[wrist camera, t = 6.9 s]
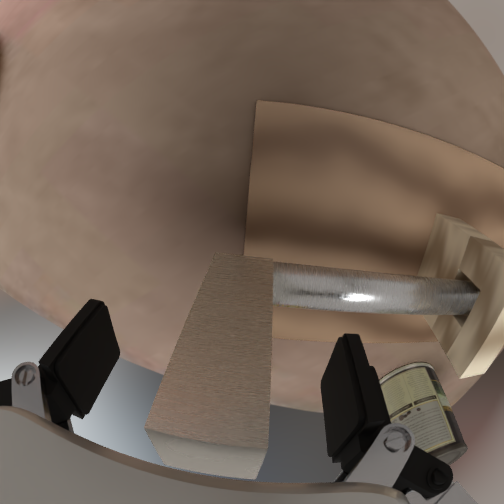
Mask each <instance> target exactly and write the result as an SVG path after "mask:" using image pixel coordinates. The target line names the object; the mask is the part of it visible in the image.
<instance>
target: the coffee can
mask: <svg viewBox="0 0 504 504" xmlns="http://www.w3.org/2000/svg"><path fill="white" fill-rule="evenodd" d="M379 382H380V385H381V389H382V392H383V395H384V399H385V402H386V406H387V409H388V413H389V417H390V420H391V424H392V423H400V424H403V425H406V426H407V427H408V428H410V430H411V431H412V432H413V434H414V437H415V446H417V447H419V448H420V449H422V450H424V451H426V452H427V453H429V454H431V455H432V456H434V457H436V458H438V459H440V460H441V461H443V462H445V463H446V464H448V465H451V464H452V463H454V462H455V461H456V460H457V459H459V458H460V457H461V456H462V455H463V454H464V453H465V452H466V451H467V449H468V448H467V445H466V444H465V442H464V440H463V437H462V434H461V432H460V429H459V427H458V424H457V421H456V419H455V416H454V414H453V412H452V409H451V407H450V404H449V402H448V400H447V397H446V395H445V393H444V391H443V389H442V386H441V384H440V382H439V380H438V378H437V376H436V374H435V372H434V368H433V367H432V366H431V365H430V364H428V363H424V362H418V363H411V364H408V365H405V366H402V367H400V368H398V369H395V370H394V371H392V372H391V373H389V374H387V375H386V376H384V377H383V378H382V379H381V380H379Z"/></svg>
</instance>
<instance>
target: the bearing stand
mask: <svg viewBox="0 0 504 504" xmlns="http://www.w3.org/2000/svg"><path fill="white" fill-rule="evenodd" d="M243 256H253V257H262V258H271V259H273V261H274V262H283V263H293V264H302V265H312V266H321V267H331V268H341V269H351V270H361V271H371V272H381V273H391V274H401V275H411V276H422V277H432V278H443V279H454V280H465V281H472V282H473V283H474V284H475V285H476V286H477V287H478V288H479V289H480V290H481V291H480V293H479V295H478V297H477V300H476V302H475V304H474V306H473V308H472V310H471V312H470V314H469V315H406V314H377V313H357V312H340V311H326V310H312V309H300V308H289V307H278V306H273V316H272V338H278V339H290V340H304V341H322V342H337V340H338V338H339V337H342V336H343V334H344V333H350V334H359V335H360V338H361V341H362V343H411V342H434V341H439V343H440V344H441V346H442V348H443V350H444V351H445V353H446V355H447V357H448V359H449V360H450V362H451V364H452V366H453V368H454V370H455V372H456V373H457V375H458V377H459V379H461V378H466V377H471V376H475V375H479V374H483V373H485V372H486V370H487V369H488V368H489V366H490V365H491V363H492V362H493V360H494V359H495V357H496V356H497V354H498V353H499V351H500V350H501V348H502V347H503V345H504V168H502V167H500V166H498V165H496V164H494V163H492V162H490V161H488V160H486V159H484V158H482V157H479V156H477V155H475V154H473V153H471V152H468V151H466V150H464V149H462V148H459V147H457V146H454V145H452V144H449V143H447V142H444V141H442V140H439V139H436V138H434V137H431V136H428V135H425V134H422V133H419V132H416V131H413V130H410V129H407V128H404V127H400V126H397V125H394V124H390V123H386V122H383V121H379V120H375V119H371V118H367V117H363V116H359V115H354V114H350V113H345V112H340V111H335V110H329V109H324V108H318V107H312V106H305V105H298V104H290V103H282V102H273V101H262V100H257V102H256V113H255V124H254V136H253V147H252V158H251V170H250V182H249V194H248V206H247V218H246V230H245V243H244V255H243Z"/></svg>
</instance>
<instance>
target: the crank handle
mask: <svg viewBox="0 0 504 504" xmlns="http://www.w3.org/2000/svg"><path fill="white" fill-rule="evenodd" d="M480 291H481V290H480V289H479V288H478V287H477V286H476V285H475V284H474V283H473V282H472V281H465V280H454V279H443V278H432V277H422V276H411V275H401V274H391V273H381V272H371V271H361V270H351V269H341V268H331V267H321V266H312V265H302V264H293V263H283V262H274V261H273V259H271V258H262V257H253V256H243V255H234V254H225V253H215V255H214V257H213V260H212V262H211V264H210V266H209V269H208V271H207V273H206V276H205V278H204V280H203V282H202V285H201V287H200V289H199V292H198V294H197V296H196V299H195V301H194V303H193V306H192V308H191V310H190V313H189V315H188V317H187V320H186V322H185V325H184V327H183V329H182V332H181V334H180V337H179V339H178V342H177V344H176V346H175V349H174V351H173V354H172V356H171V359H170V361H169V364H168V366H167V369H166V371H165V374H164V376H163V379H162V382H161V384H160V387H159V389H158V392H157V395H156V397H155V400H154V402H153V405H152V408H151V410H150V413H149V416H148V418H147V421H146V424H145V427H144V428H145V430H146V432H147V434H148V436H149V438H150V440H151V442H152V444H153V445H154V447H155V449H156V450H157V452H158V454H159V456H160V458H161V459H162V461H163V463H164V464H165V465H169V466H173V467H177V468H182V469H186V470H192V471H196V472H202V473H208V474H213V475H220V476H228V477H235V478H245V479H256V477H257V475H258V472H259V470H260V467H261V465H262V462H263V460H264V457H265V455H266V452H267V449H268V432H269V411H270V386H271V356H272V316H273V306H278V307H289V308H300V309H312V310H326V311H340V312H357V313H377V314H406V315H469V314H470V312H471V310H472V308H473V306H474V304H475V302H476V300H477V297H478V295H479V293H480Z"/></svg>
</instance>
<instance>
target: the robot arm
mask: <svg viewBox="0 0 504 504" xmlns="http://www.w3.org/2000/svg"><path fill="white" fill-rule="evenodd" d="M119 356H120V349H119V346H118V343H117V340H116V336H115V333H114V329H113V326H112V322H111V319H110V315H109V311H108V308H107V306H105V304H104V302H103V301H99V300H95V299H90V300H89V301H88V302H87V303H86V304H85V305H84V306H83V308H82V309H81V310H80V311H79V312H78V313H77V314H76V316H75V317H74V318H73V319H72V320H71V322H70V323H69V324H68V325H67V326H66V328H65V329H64V330H63V331H62V332H61V334H60V335H59V336H58V337H57V339H56V340H55V341H54V342H53V344H52V345H51V347H49V349H48V350H47V351H46V353H45V354H44V355H43V357H42V358H41V359H40V361H39V364H40V365H39V366H38V367H37V366H36V365H35V364H34V363H31V362H24V363H21V364H20V365H18V366H17V367H16V368H15V369H14V371H13V373H12V378H11V379H8V380H4V381H1V382H0V504H477V502H476V501H475V500H474V499H473V498H472V497H471V496H470V495H469V494H468V493H467V492H466V490H465V489H464V488H463V487H462V486H461V485H460V484H459V483H458V482H455V483H454V482H453V481H452V480H453V473H452V469H451V468H450V466H449V465H448V464H446V463H445V462H443V461H441V460H440V459H438V458H436V457H434V456H432V455H431V454H429V453H427V452H426V451H424V450H422V449H420V448H419V447H417V446H415V437H414V434H413V432H412V431H411V430H410V428H408V427H407V426H406V425H403V424H400V423H392V424H391V420H390V417H389V413H388V409H387V406H386V402H385V399H384V395H383V392H382V389H381V385H380V382H379V379H378V376H377V373H376V370H375V368H374V367H373V366H369V363H368V359H367V356H366V353H365V350H364V347H363V344H362V341H361V338H360V335H359V334H350V333H344V334H343V336H342V337H339V338H338V340H337V342H336V345H335V347H334V350H333V353H332V355H331V358H330V360H329V363H328V365H327V368H326V370H325V372H324V375H323V377H322V380H321V394H322V402H323V411H324V420H325V430H326V441H327V452H328V456H329V457H332V461H333V463H337V462H341V468H342V469H343V471H342V472H341V473H340V474H339V475H338V477H337V478H336V479H335V481H333V482H332V483H331V482H330V483H269V482H252V481H242V480H233V479H225V478H218V477H211V476H206V475H200V474H195V473H190V472H185V471H181V470H176V469H172V468H168V467H164V466H160V465H157V464H153V463H150V462H146V461H143V460H140V459H137V458H134V457H131V456H128V455H125V454H122V453H119V452H117V451H114V450H111V449H109V448H106V447H103V446H101V445H99V444H96V443H94V442H92V441H89V440H87V439H85V438H83V437H81V436H78V435H76V434H74V431H73V427H72V424H71V419H70V417H71V415H72V414H73V415H75V416H77V417H79V418H81V419H83V418H84V416H85V414H88V413H89V412H90V410H91V408H92V406H93V404H94V402H95V401H96V399H97V397H98V395H99V393H100V391H101V389H102V387H103V386H104V384H105V382H106V380H107V378H108V376H109V375H110V373H111V371H112V369H113V367H114V366H115V364H116V362H117V360H118V359H119Z"/></svg>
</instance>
